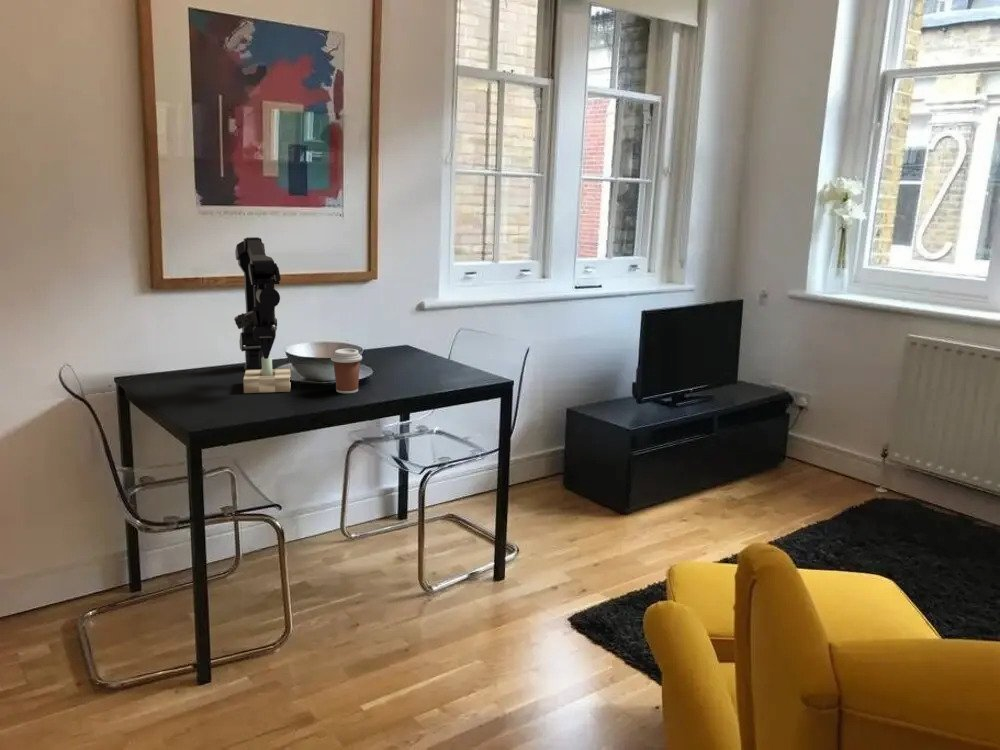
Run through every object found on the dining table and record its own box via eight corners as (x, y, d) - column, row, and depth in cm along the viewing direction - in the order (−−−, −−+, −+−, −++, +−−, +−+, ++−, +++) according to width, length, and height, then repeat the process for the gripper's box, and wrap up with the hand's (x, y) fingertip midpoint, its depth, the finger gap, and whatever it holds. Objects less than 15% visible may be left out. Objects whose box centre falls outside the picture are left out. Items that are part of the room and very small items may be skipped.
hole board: (246, 382, 255) (245, 369, 254) (290, 381, 258) (290, 368, 257) (244, 393, 243) (243, 379, 242) (290, 391, 246) (289, 378, 245)
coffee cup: (365, 387, 253) (364, 348, 250) (359, 395, 245) (359, 354, 242) (335, 386, 254) (334, 347, 251) (328, 394, 245) (327, 353, 242)
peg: (262, 385, 252) (261, 356, 249) (273, 385, 252) (272, 356, 250) (262, 388, 249) (261, 358, 247) (272, 388, 249) (271, 358, 247)
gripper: (237, 298, 251) (240, 349, 255) (232, 308, 234) (235, 363, 237) (276, 297, 254) (278, 348, 258) (274, 307, 236) (276, 361, 240)
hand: (266, 355), depth 248 cm, fingers open, 9 cm apart
